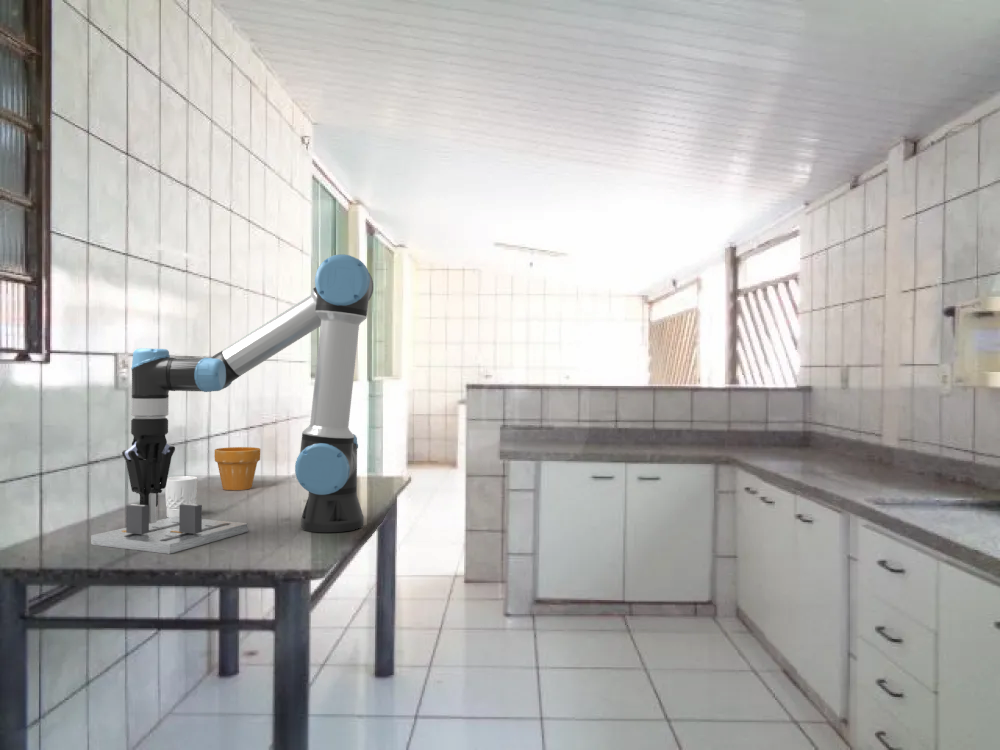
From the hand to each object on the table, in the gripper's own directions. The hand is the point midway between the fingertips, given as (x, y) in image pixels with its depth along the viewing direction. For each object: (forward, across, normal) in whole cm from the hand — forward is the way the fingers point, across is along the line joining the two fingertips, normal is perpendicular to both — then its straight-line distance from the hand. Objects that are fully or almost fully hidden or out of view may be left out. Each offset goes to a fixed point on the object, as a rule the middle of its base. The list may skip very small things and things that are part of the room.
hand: (148, 522), depth 166 cm
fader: (+2, -2, +10) cm, 10 cm away
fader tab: (+2, +3, 0) cm, 4 cm away
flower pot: (+4, -69, -34) cm, 77 cm away
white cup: (+4, -25, -15) cm, 29 cm away
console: (+4, -4, +3) cm, 6 cm away
